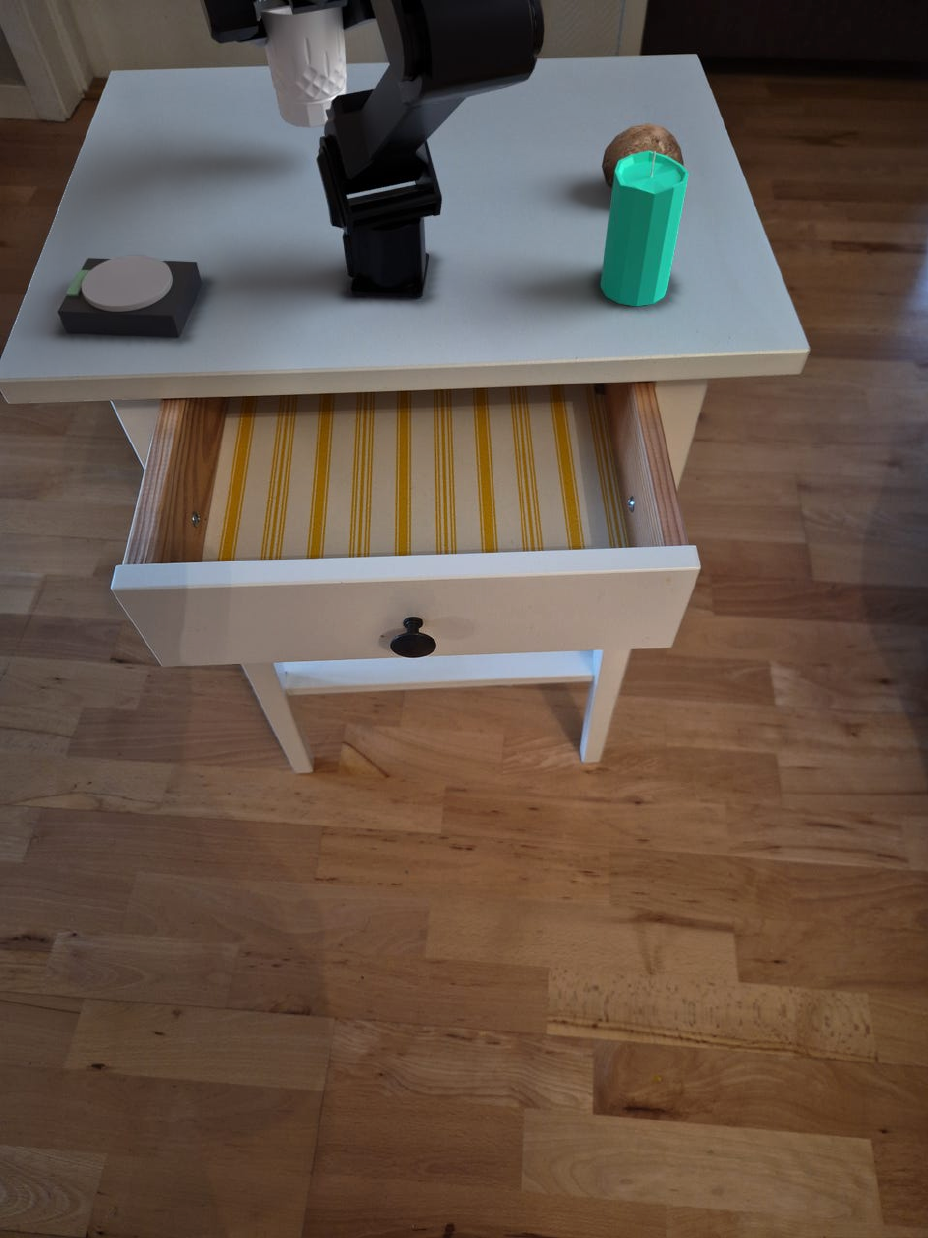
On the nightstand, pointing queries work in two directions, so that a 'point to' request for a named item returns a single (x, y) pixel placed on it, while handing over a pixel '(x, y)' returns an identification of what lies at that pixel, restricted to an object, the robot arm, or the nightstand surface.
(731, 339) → the nightstand surface
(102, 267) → the scale
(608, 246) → the candle
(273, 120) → the nightstand surface
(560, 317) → the nightstand surface
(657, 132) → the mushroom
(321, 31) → the white cup
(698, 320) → the nightstand surface
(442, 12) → the robot arm
